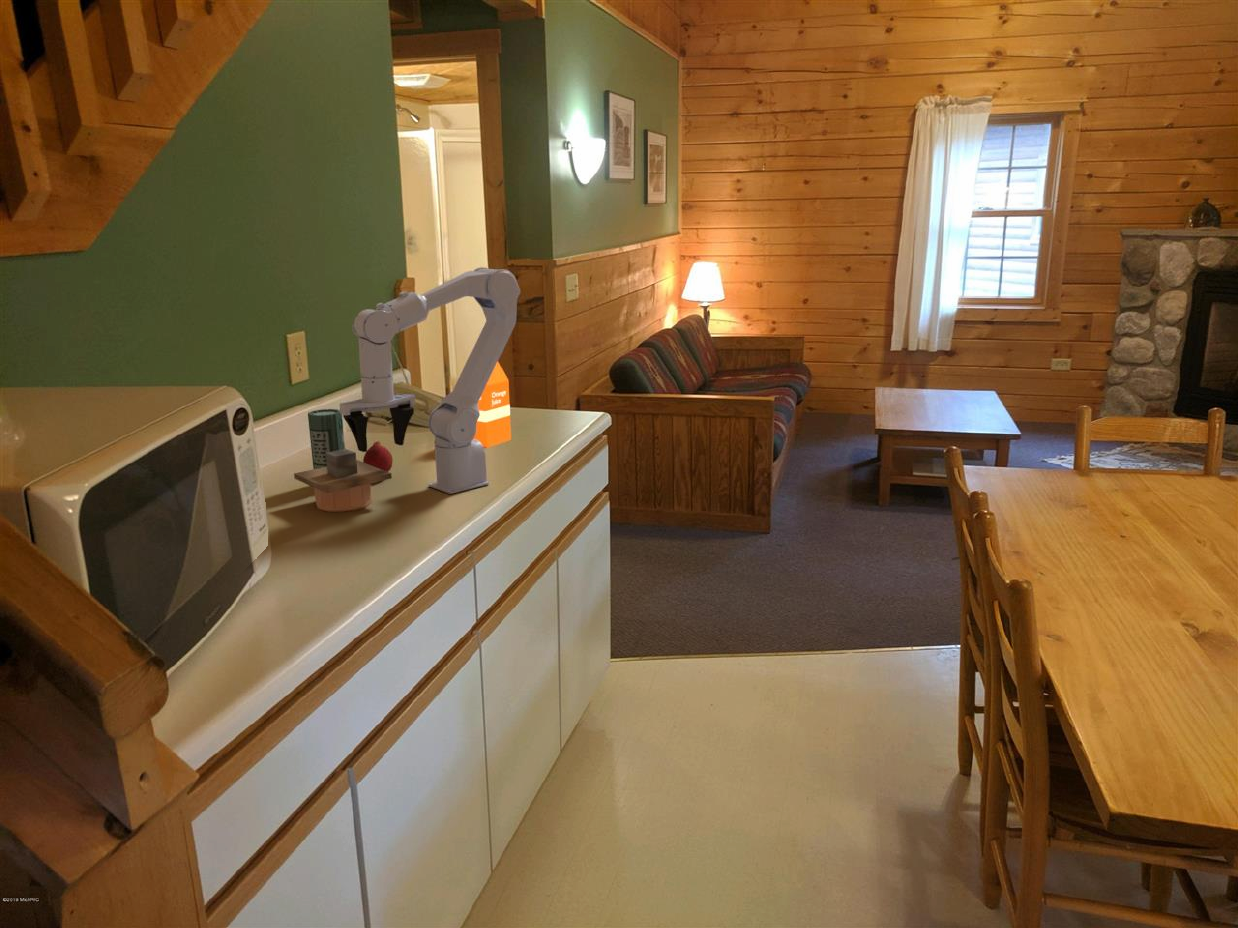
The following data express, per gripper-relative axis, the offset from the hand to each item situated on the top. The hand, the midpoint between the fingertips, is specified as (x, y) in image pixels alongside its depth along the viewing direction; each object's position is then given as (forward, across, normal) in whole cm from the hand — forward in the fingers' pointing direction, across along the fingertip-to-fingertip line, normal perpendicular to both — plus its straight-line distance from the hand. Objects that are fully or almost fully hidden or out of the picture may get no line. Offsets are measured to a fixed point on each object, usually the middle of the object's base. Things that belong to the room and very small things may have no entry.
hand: (381, 447), depth 173 cm
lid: (+6, +6, -4) cm, 9 cm away
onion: (+10, -7, -14) cm, 19 cm away
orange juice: (+10, -41, -24) cm, 48 cm away
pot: (+11, +6, -4) cm, 13 cm away
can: (+11, +2, -17) cm, 20 cm away
